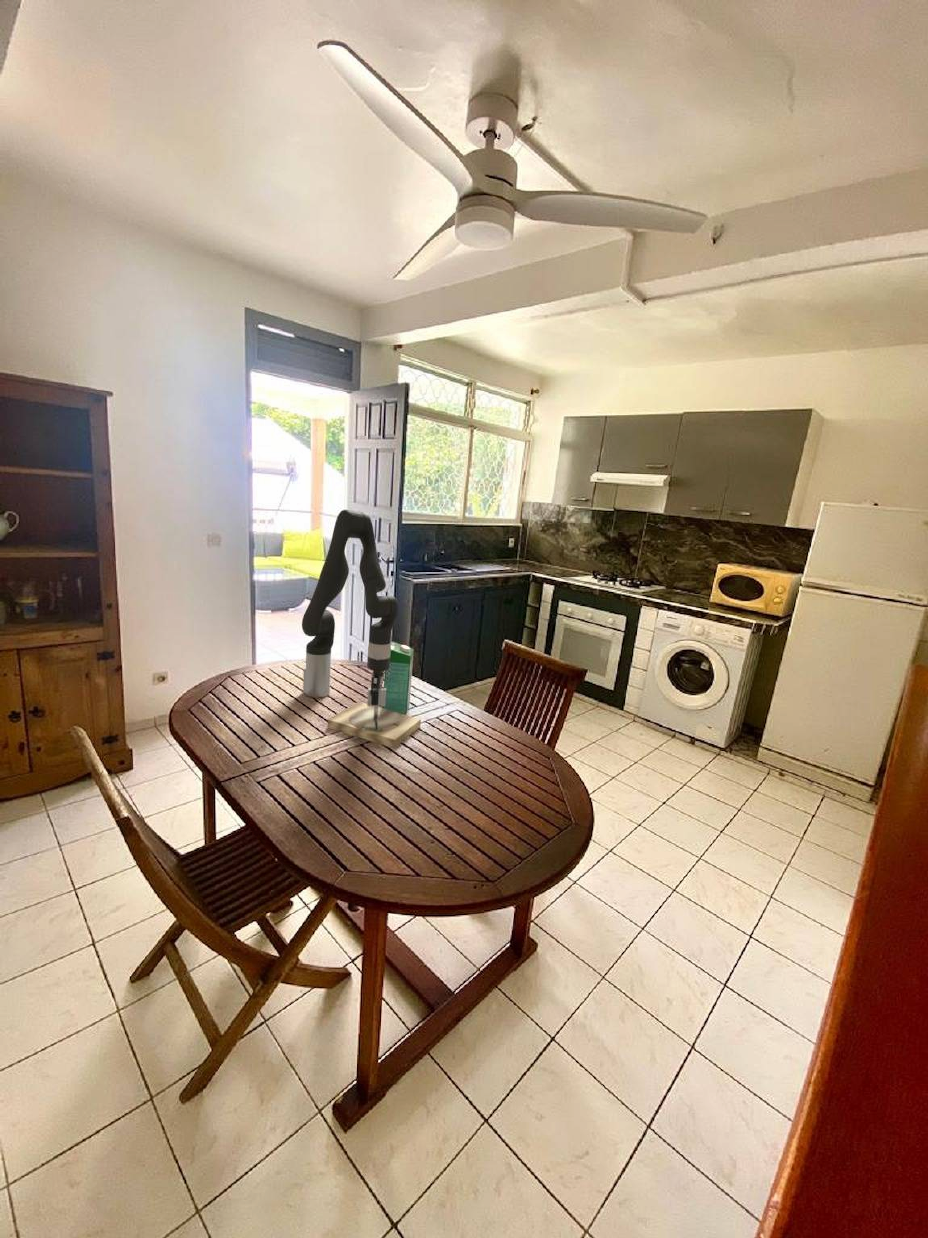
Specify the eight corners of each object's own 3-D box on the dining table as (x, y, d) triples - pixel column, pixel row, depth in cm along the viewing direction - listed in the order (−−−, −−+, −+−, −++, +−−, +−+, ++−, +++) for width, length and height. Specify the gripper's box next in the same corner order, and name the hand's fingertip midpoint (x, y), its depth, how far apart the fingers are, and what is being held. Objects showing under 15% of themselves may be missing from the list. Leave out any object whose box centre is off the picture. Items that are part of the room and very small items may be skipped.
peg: (366, 717, 171) (368, 688, 169) (384, 717, 172) (386, 688, 170) (367, 730, 162) (369, 699, 159) (385, 730, 163) (387, 700, 161)
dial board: (327, 727, 168) (327, 718, 167) (358, 709, 185) (358, 700, 184) (394, 748, 159) (394, 739, 158) (420, 727, 176) (421, 718, 175)
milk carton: (406, 714, 185) (411, 650, 179) (382, 711, 185) (386, 647, 179) (409, 704, 193) (414, 643, 187) (386, 701, 193) (390, 640, 187)
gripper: (370, 647, 172) (368, 690, 176) (364, 660, 158) (361, 707, 162) (392, 649, 173) (389, 692, 177) (388, 662, 159) (384, 709, 163)
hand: (376, 699), depth 169 cm, fingers open, 8 cm apart
